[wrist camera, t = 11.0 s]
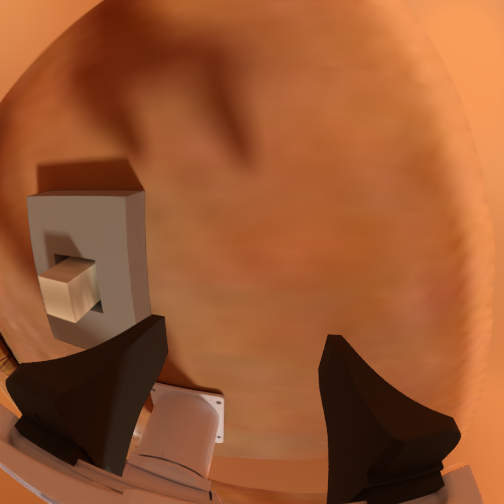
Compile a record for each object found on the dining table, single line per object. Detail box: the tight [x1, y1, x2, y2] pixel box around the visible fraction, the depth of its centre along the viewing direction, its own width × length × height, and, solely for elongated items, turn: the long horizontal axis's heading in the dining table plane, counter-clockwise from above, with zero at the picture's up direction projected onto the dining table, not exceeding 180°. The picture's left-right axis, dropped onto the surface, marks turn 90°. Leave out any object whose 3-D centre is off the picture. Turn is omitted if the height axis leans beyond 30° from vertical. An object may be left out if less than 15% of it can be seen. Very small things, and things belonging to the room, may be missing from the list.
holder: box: [27, 190, 151, 349], centre depth 20 cm, size 14×11×3 cm
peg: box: [38, 256, 101, 323], centre depth 19 cm, size 3×3×6 cm
